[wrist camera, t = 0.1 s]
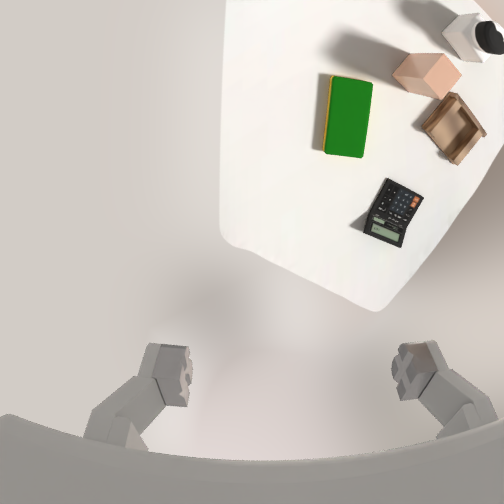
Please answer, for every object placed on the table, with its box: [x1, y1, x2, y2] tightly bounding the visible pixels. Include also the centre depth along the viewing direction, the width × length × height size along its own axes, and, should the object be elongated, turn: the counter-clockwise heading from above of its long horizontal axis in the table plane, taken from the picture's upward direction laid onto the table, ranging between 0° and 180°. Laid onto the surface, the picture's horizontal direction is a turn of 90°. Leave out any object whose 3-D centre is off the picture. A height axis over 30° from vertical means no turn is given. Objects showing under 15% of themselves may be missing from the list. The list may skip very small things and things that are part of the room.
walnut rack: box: [421, 92, 487, 166], centre depth 49 cm, size 10×11×3 cm
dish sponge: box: [323, 76, 373, 158], centre depth 50 cm, size 7×14×2 cm, turn 177°
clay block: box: [392, 53, 462, 100], centre depth 40 cm, size 6×4×12 cm
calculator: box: [363, 178, 424, 248], centre depth 59 cm, size 9×12×3 cm
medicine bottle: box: [442, 13, 504, 63], centre depth 35 cm, size 7×7×12 cm
